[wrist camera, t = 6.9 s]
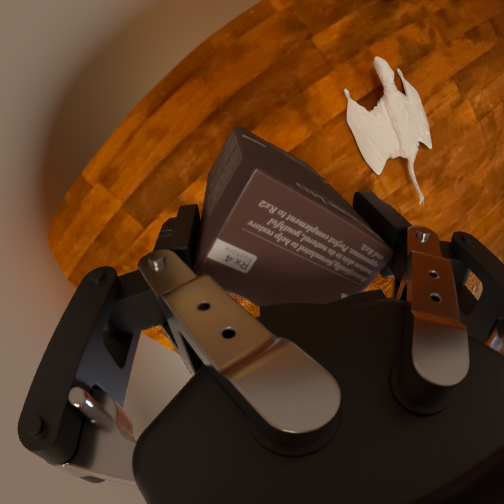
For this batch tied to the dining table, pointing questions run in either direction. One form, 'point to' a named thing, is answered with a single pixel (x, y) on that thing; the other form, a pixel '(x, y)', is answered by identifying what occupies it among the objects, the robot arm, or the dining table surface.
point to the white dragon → (390, 123)
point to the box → (281, 229)
